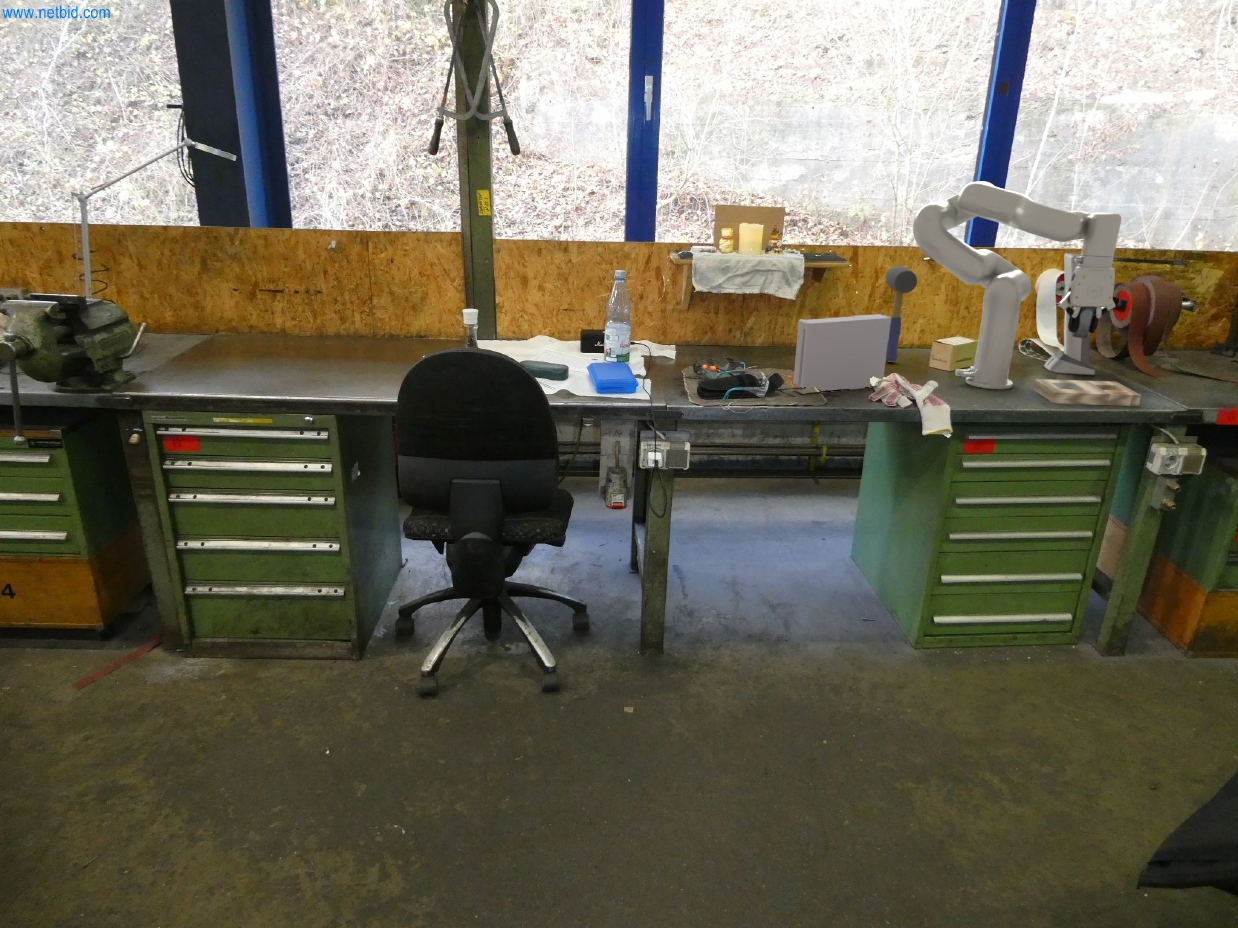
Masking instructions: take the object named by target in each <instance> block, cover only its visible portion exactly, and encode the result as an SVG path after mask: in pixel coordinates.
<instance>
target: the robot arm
mask: <svg viewBox="0 0 1238 928" xmlns="http://www.w3.org/2000/svg"><path fill="white" fill-rule="evenodd" d="M977 217H979V218H982V219H985V220H989V221H993V222H996V223H998V224H1002V225H1006V226H1008V227H1011V228H1013V229H1016V230H1021V231H1023V232H1026V233H1028V234H1032V235H1035V236H1038V237H1041V238H1044V239H1047V240H1051V241H1055V242H1060V243H1066V242H1071V241H1074V240H1083V242H1082V247H1081V252H1080V254H1079V255H1080V257H1076V258H1075V259H1074V262H1075V263H1078V265H1079V266H1078V267H1076V268H1075V270H1074V272H1073V275H1072V277H1071V280H1070V283H1069V287H1068V290H1067V295H1066V296H1065V297H1064V298H1063V299H1061V301H1059V302H1058V306H1059V307H1060V308H1062V309H1063V310H1064V312H1065V311H1066V312H1067V313H1068V315H1069V316H1070V318H1069V323H1068V329H1069V331H1070V332H1072V333H1075V332H1076V330H1077V325H1078V320H1079V318H1077V316H1078V313H1079V310H1080V308H1081V307H1095V310H1094V314H1093V319H1092V324H1091V328H1090V334H1095V331H1096V330H1097V327H1098V323H1099V319H1101V318H1102V316H1104V314H1105V313H1108V311H1111V310H1112V309H1114V308H1116V303H1115V302H1114V299H1113V297H1114V291H1115V290H1114V289H1115V282H1116V281H1115V277H1116V275H1115V274H1116V273H1115V268H1114V267H1112V266H1113V261H1114V256H1115V251H1116V247H1117V242H1118V240H1119V239H1118V237H1119V233H1120V228H1121V224H1122V215H1120V213H1115V212H1087V211H1082V210H1075V209H1074V210H1062V209H1059V208H1055V207H1052V206H1048V205H1045V204H1041V203H1039V202H1036V201H1034V200H1033V199H1031V198H1030V197H1029V196H1028V195H1026V194H1024V193H1020V192H1016V191H1013V190H1008V189H1005V188H1000V187H998V186H995V185H994V184H993V183H991V182H990V181H989V182H988V181H972V182H969V183H968V184H965V186H963V187H962V188H961V190H960V192H959V193H956V194H954V195H953V196H949V197H948V198H946V199H943V200H942V201H941V200H940V201H933V202H929V203H926V204H924V205H923V206H922V207H920V208H919V209H918V210H917V212H916V214H915V216H914V218H913V221H912V222H913V224H912V234H913V237H914V240H915V243H916V245H917V247H918V248H919V249H920V250H921V251H922V252H923V253H924V254H925V255H926V256H928V257H929V258H931V259H932V260H934V262H935V263H938V264H939V265H940V266H942V268H944V269H945V270H947V272H949V273H951V274H952V275H953V276H954V277H956V278H958V280H960V282H963V283H964V284H966V285H969V286H977V285H980V287H982V288H984V291H983V298H982V313H981V319H980V320H981V321H980V326H979V333H978V338H977V339H978V340H977V345H976V352H975V355H974V357H975V358H974V363H973V365H970V366H969V368H967V369H963V368H962V369H961V368H956V369H955V371H954V372H955V373H954V375H955V376H957V377H958V376H959V377H960V376H961V377H962V378H965V383H966V384H968V385H970V386H973V387H976V388H980V387H981V388H980V389H986V390H987V389H988V390H1008V389H1010V388H1012V387H1013V385H1014V383H1013V382H1014V381H1012V380H1010V379H1009V373H1010V370H1011V369H1010V368H1011V363H1012V357H1013V351H1014V346H1015V341H1016V337H1017V331H1018V330H1017V329H1018V324H1019V316H1020V305H1021V302H1023V301H1024V300H1026V299H1027V298H1028V297H1029V295H1030V294H1031V291H1032V290H1031V289H1032V282H1031V279H1030V277H1029V276H1028V275H1027V274H1026V273H1025V272H1024V271H1022V270H1021V269H1020V268H1018V267H1017V266H1016V265H1014V264H1012V263H1011V262H1010V261H1008V260H1007V259H1005V258H1004V257H1002V256H1001V255H999V254H998V253H997V252H995V251H993V250H990V249H987V248H982V249H976V248H974V247H972V246H970V245H969V244H967V243H965V241H964V240H962V239H960V238H959V237H957V236H956V235H954V234H953V233H950V232H949V230H951V229H953V228H955V227H958V226H960V225H962V224H964V223H966V222H967V221H970V220H971V221H972V219H975V218H977ZM1067 303H1068V304H1072V306H1071V307H1069V306H1068V305H1067Z"/></svg>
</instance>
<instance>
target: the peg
mask: <svg viewBox="0 0 1238 928" xmlns="http://www.w3.org/2000/svg"><path fill="white" fill-rule="evenodd" d="M1094 310H1095V307H1081V308H1080V310H1079V313H1078V316H1077V318H1079V320H1078V325H1077V330H1076V332H1075V333H1072V336H1073V337H1077V338H1088V337H1089V333H1090V328H1091V324H1092V319H1093V314H1094ZM1090 334H1091V333H1090Z"/></svg>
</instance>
